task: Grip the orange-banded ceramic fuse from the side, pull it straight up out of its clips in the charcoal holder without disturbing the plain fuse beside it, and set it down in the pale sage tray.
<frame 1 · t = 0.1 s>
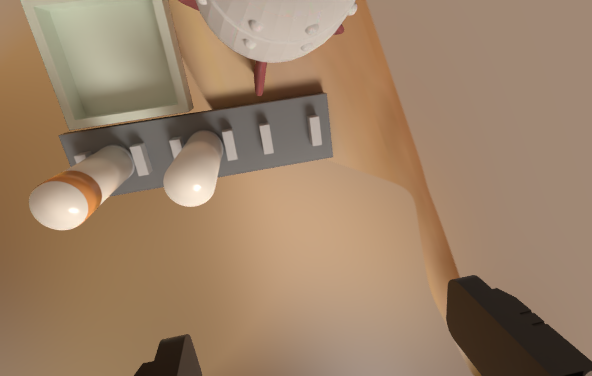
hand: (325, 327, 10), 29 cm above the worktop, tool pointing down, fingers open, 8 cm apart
holder: (207, 144, 37), on the worktop
tray: (123, 59, 33), on the worktop
toy: (261, 18, 34), on the worktop
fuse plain: (205, 147, 35), point 1 cm above the worktop, touching holder
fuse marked: (117, 161, 34), point 1 cm above the worktop, touching holder
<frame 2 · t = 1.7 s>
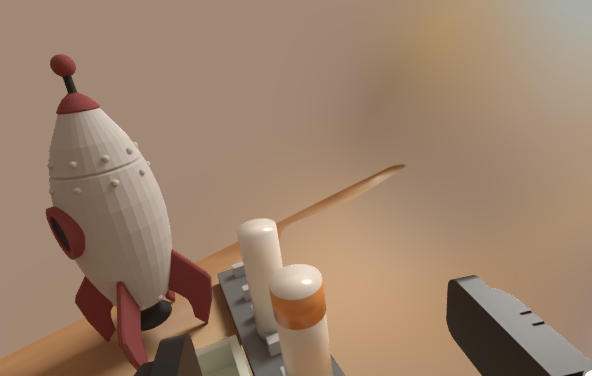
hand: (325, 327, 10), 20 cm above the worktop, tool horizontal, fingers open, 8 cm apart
holder: (277, 340, 35), on the worktop
toy: (160, 333, 39), on the worktop
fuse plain: (275, 329, 35), point 1 cm above the worktop, touching holder
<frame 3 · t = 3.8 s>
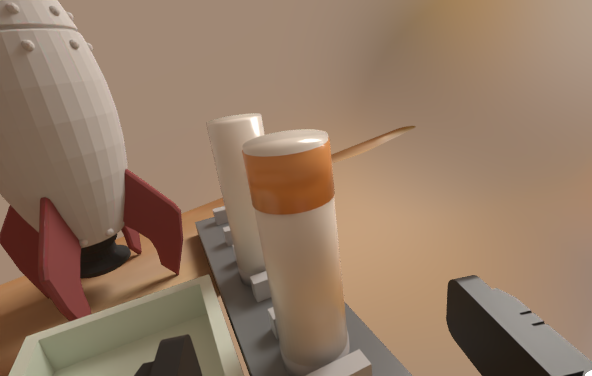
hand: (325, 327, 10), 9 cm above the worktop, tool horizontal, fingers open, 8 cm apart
holder: (267, 288, 27), on the worktop
toy: (117, 288, 30), on the worktop
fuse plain: (263, 272, 26), point 1 cm above the worktop, touching holder
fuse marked: (316, 354, 18), point 1 cm above the worktop, touching holder
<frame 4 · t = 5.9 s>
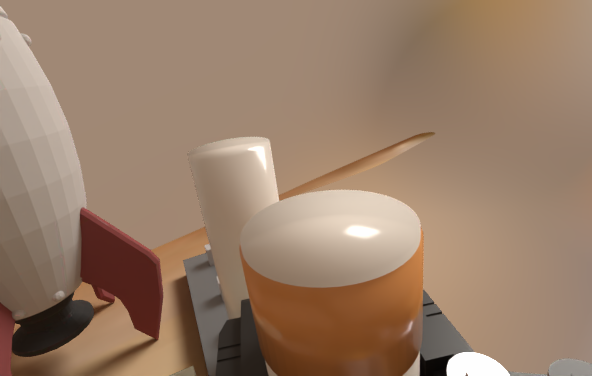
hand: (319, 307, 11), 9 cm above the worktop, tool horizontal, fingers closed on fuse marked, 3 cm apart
holder: (274, 371, 20), on the worktop
toy: (77, 357, 23), on the worktop
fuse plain: (270, 352, 19), point 1 cm above the worktop, touching holder
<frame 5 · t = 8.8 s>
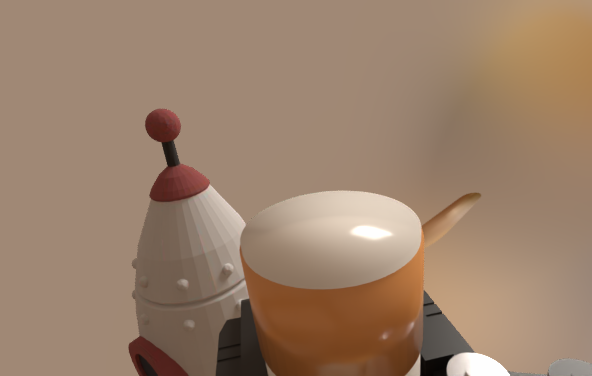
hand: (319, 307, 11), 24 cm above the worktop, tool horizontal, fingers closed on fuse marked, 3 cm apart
when the fingers open (10 cm above the worktop, at t = 11.8 s): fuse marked drops 1 cm, resting on tray.
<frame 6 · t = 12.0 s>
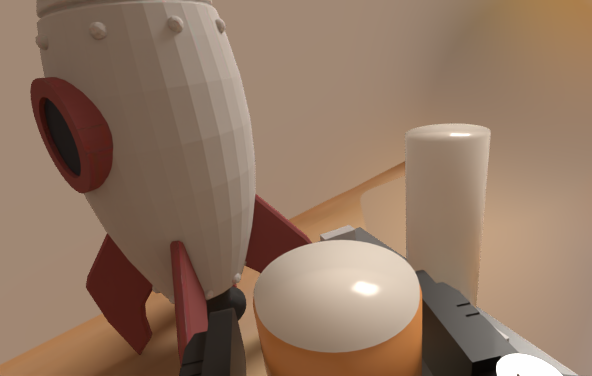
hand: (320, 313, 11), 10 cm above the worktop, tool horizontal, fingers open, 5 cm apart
holder: (438, 351, 20), on the worktop
toy: (225, 340, 24), on the worktop
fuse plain: (439, 332, 20), point 1 cm above the worktop, touching holder
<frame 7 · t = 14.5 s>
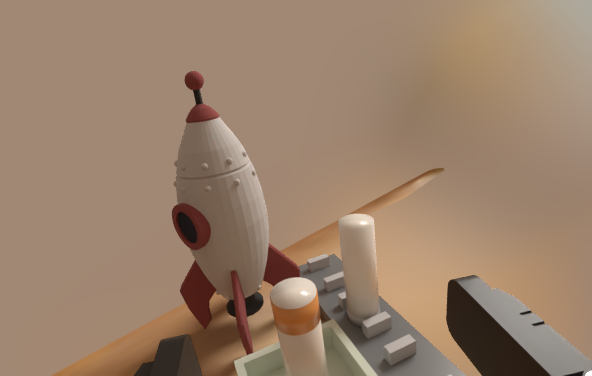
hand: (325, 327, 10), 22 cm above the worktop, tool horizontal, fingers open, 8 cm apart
holder: (364, 326, 39), on the worktop
toy: (251, 321, 42), on the worktop
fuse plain: (363, 315, 38), point 1 cm above the worktop, touching holder
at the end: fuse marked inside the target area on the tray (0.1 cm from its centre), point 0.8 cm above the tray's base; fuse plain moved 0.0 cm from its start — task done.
